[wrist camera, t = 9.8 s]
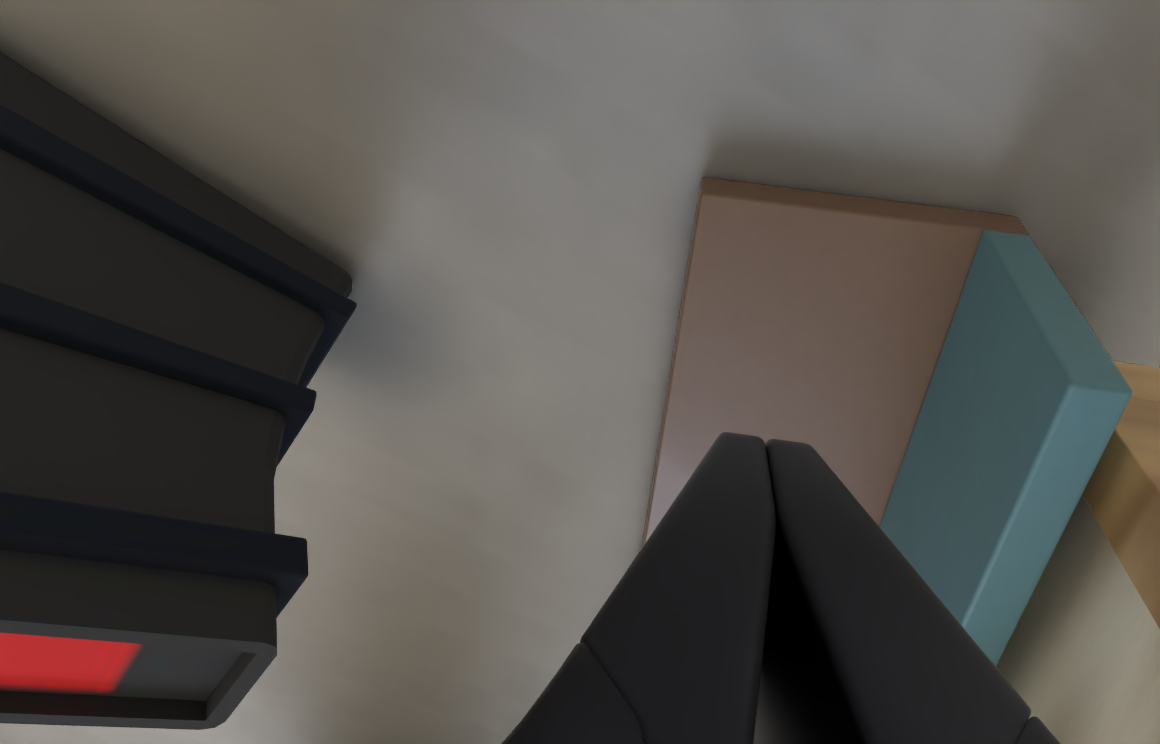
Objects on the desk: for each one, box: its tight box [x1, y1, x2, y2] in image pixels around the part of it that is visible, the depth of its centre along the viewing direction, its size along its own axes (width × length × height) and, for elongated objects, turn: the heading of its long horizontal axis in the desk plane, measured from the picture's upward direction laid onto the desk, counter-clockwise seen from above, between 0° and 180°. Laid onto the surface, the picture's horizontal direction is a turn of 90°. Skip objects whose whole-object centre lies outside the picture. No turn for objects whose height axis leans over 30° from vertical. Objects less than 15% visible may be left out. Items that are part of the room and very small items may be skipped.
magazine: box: [0, 53, 357, 730], centre depth 18 cm, size 4×13×15 cm, turn 56°
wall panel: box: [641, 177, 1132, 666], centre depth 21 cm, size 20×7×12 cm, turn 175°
